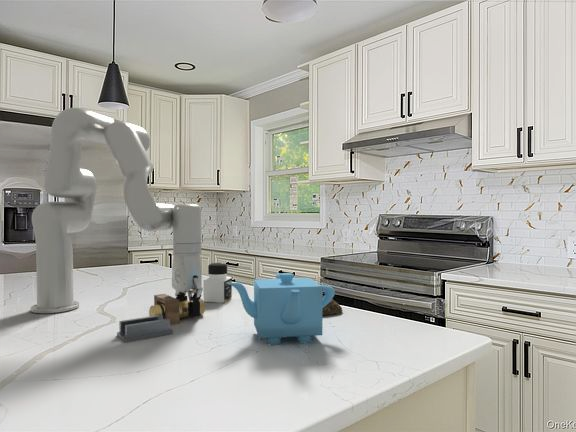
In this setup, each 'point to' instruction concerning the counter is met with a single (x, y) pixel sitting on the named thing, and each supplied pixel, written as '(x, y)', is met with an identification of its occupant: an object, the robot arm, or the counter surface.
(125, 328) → the cradle
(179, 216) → the robot arm
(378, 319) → the counter surface
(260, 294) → the teakettle
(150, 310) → the axle
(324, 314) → the bread roll
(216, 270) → the medicine bottle
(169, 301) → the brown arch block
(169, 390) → the counter surface
